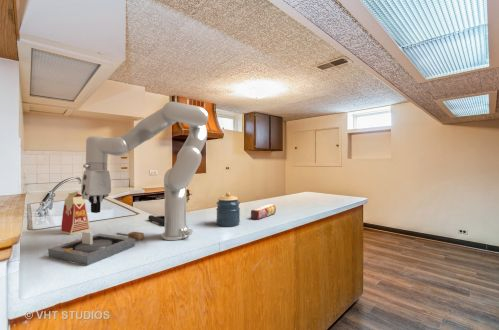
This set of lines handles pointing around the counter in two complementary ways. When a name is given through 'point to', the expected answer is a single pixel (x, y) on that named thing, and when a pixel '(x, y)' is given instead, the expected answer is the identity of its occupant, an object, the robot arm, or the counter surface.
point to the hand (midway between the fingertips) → (95, 212)
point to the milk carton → (74, 215)
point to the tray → (70, 254)
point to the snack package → (263, 211)
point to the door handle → (157, 219)
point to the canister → (228, 211)
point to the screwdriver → (134, 235)
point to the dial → (91, 243)
